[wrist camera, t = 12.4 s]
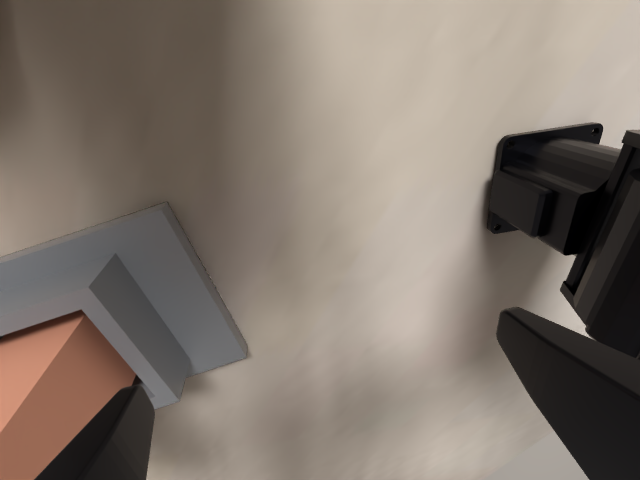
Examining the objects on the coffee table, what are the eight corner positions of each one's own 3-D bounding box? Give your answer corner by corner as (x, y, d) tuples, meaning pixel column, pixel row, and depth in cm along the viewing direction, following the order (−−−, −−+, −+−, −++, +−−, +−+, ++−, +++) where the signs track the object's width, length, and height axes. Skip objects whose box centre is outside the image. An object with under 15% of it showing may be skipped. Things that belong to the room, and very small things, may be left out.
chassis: (154, 179, 18) (119, 214, 14) (254, 357, 25) (252, 418, 21) (-225, 305, 18) (-378, 379, 14) (-19, 448, 25) (-78, 527, 21)
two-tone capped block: (102, 291, 20) (-180, 683, 7) (146, 348, 22) (-7, 717, 10) (21, 317, 20) (-401, 755, 7) (74, 372, 22) (-172, 771, 10)
